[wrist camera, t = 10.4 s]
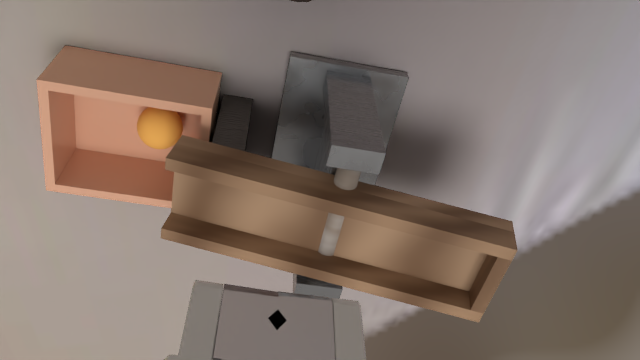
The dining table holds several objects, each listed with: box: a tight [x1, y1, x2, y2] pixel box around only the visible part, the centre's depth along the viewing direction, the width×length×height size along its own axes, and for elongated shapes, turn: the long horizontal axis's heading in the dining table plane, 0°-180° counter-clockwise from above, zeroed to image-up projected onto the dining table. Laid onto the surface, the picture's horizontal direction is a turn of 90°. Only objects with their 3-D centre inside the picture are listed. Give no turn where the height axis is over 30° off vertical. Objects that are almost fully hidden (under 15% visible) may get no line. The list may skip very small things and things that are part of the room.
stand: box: [212, 51, 409, 299], centre depth 39 cm, size 12×13×10 cm
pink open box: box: [37, 45, 222, 208], centre depth 39 cm, size 10×8×5 cm
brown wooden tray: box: [161, 135, 517, 322], centre depth 35 cm, size 20×9×3 cm, turn 79°
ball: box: [137, 107, 183, 149], centre depth 40 cm, size 3×3×3 cm
